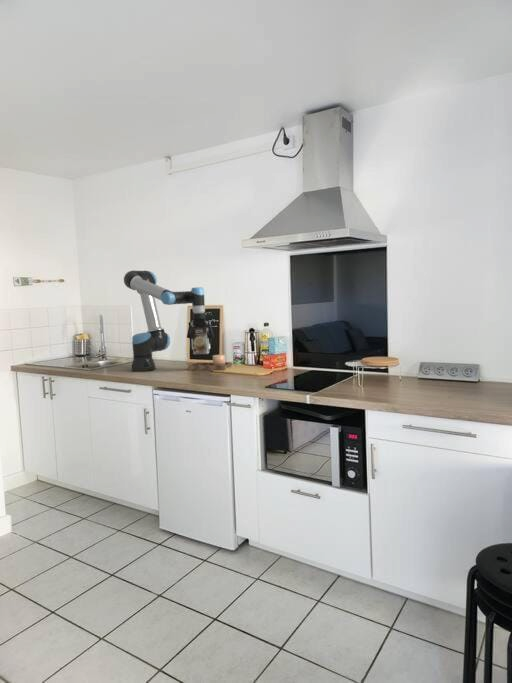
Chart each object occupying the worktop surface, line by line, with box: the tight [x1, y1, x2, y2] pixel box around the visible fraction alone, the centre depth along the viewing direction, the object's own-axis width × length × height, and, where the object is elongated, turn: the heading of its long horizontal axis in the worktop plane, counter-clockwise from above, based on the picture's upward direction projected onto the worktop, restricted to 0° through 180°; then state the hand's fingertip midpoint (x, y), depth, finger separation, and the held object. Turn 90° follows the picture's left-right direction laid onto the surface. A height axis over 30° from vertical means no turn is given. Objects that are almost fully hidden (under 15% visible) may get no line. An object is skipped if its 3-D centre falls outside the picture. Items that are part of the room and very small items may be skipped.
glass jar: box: [191, 326, 210, 355], centre depth 298 cm, size 9×6×16 cm
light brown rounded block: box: [212, 354, 226, 366], centre depth 297 cm, size 8×8×8 cm
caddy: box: [187, 361, 233, 371], centre depth 298 cm, size 23×14×4 cm, turn 75°
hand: (201, 349), depth 299 cm, fingers closed on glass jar, 10 cm apart
